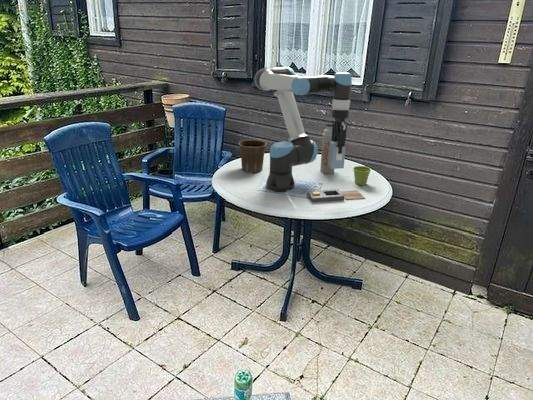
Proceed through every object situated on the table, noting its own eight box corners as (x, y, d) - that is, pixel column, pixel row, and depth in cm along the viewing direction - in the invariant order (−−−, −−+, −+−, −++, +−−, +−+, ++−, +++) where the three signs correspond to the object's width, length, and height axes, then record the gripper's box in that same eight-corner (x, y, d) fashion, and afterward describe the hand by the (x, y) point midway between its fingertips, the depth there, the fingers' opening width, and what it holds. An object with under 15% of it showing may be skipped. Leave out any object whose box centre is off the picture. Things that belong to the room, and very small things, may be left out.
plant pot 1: (269, 166, 240) (269, 140, 234) (262, 175, 226) (262, 148, 219) (243, 164, 244) (243, 138, 237) (235, 172, 229) (234, 145, 223)
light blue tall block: (328, 165, 190) (330, 141, 186) (340, 165, 191) (342, 141, 187) (331, 168, 186) (333, 144, 181) (343, 168, 187) (345, 143, 182)
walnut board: (338, 193, 201) (338, 191, 201) (356, 192, 203) (357, 190, 203) (345, 201, 192) (346, 199, 192) (364, 200, 194) (365, 197, 194)
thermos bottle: (327, 174, 228) (330, 126, 217) (317, 170, 234) (320, 123, 223) (336, 171, 233) (340, 124, 222) (327, 168, 239) (330, 122, 227)
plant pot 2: (361, 188, 209) (362, 172, 205) (348, 183, 216) (349, 167, 212) (372, 184, 214) (374, 169, 210) (359, 179, 221) (361, 164, 217)
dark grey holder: (306, 196, 197) (307, 189, 196) (337, 194, 200) (337, 187, 199) (312, 203, 189) (312, 196, 188) (343, 201, 192) (344, 194, 191)
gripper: (355, 111, 171) (351, 163, 180) (341, 105, 186) (338, 152, 196) (339, 112, 169) (335, 164, 178) (326, 105, 185) (323, 153, 194)
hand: (336, 158), depth 187 cm, fingers closed on light blue tall block, 4 cm apart
